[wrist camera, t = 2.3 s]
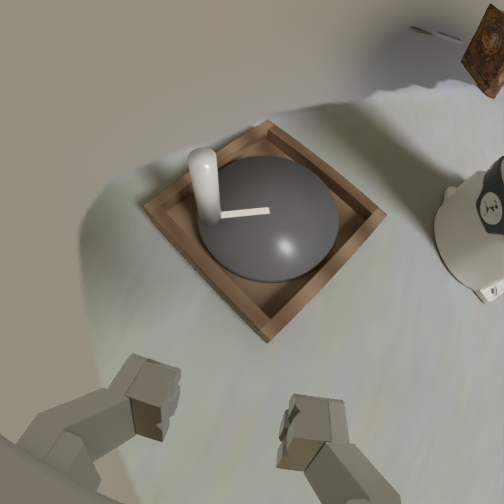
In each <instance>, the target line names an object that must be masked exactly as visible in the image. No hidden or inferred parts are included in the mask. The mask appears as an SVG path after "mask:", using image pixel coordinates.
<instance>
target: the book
mask: <svg viewBox="0 0 504 504" xmlns="http://www.w3.org/2000/svg"><path fill="white" fill-rule="evenodd" d="M461 62H462V64H463V65H464V67H465V68H466V69H467V71H468V72H469V73H470V75H471V76H472V78H473V79H474V80H475V82H476V83H477V85H478V86H479V88H480V89H481V90H482V92H483V93H484V94H485V95H487V96H488V97H490V98H493V99H494V98H495V97H496V95H497V94H498V92H499V91H500V89H501V88H502V86H503V85H504V12H503V11H500V10H499V9H497V8H496V7H495V6H494V5H492V4H489V6H488V8H487V10H486V12H485V15H484V16H483V19H482V21H481V23H480V25H479V27H478V29H477V31H476V33H475V35H474V37H473V38H472V40H471V42H470V44H469V46H468V48H467V50H466V52H465V54H464V56H463V58H462V61H461Z"/></svg>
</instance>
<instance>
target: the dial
mask: <svg viewBox="0 0 504 504" xmlns="http://www.w3.org/2000/svg"><path fill="white" fill-rule="evenodd" d="M188 165H189V170H190V175H191V180H192V185H193V190H194V194H195V199H196V204H197V222H198V228H199V232H200V235H201V238H202V241H203V243H204V245H205V247H206V249H207V250H208V252H209V253H210V255H211V256H212V257H213V258H214V259H215V261H216V262H217V263H219V264H220V265H221V266H222V267H223V268H225V269H226V270H228V271H229V272H231V273H232V274H234V275H236V276H239V277H241V278H244V279H247V280H250V281H254V282H259V283H281V282H287V281H291V280H294V279H297V278H299V277H301V276H304V275H306V274H307V273H309V272H310V271H312V270H313V269H315V268H316V267H317V266H318V265H319V264H320V263H321V262H322V261H323V260H324V258H325V257H326V256H327V254H328V253H329V251H330V250H331V248H332V246H333V244H334V242H335V239H336V237H337V232H338V225H339V218H338V210H337V206H336V203H335V200H334V197H333V196H332V194H331V192H330V190H329V189H328V187H327V186H326V184H325V183H324V182H323V181H322V180H321V179H320V178H319V177H318V176H317V175H316V174H315V173H314V172H312V171H311V170H309V169H308V168H307V167H305V166H303V165H301V164H299V163H297V162H294V161H292V160H289V159H285V158H281V157H276V156H253V157H247V158H243V159H240V160H237V161H234V162H232V163H230V164H228V165H227V166H225V167H223V168H222V169H220V170H219V171H218V170H217V157H216V153H215V152H214V151H213V150H212V149H209V148H204V147H203V148H197V149H195V150H193V151H192V152H191V153H190V154H189V156H188Z"/></svg>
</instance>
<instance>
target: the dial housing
mask: <svg viewBox="0 0 504 504" xmlns="http://www.w3.org/2000/svg"><path fill="white" fill-rule="evenodd" d="M253 156H276V157H281V158H285V159H289V160H292V161H294V162H297V163H299V164H301V165H303V166H305V167H307V168H308V169H309V170H311V171H312V172H314V173H315V174H316V175H317V176H318V177H319V178H320V179H321V180H322V181H323V182H324V183H325V184H326V186H327V187H328V189H329V190H330V192H331V194H332V196H333V197H334V200H335V203H336V206H337V210H338V218H339V225H338V232H337V237H336V239H335V242H334V244H333V246H332V248H331V250H330V251H329V253H328V254H327V256H326V257H325V258H324V260H323V261H322V262H321V263H320V264H319V265H318V266H317V267H316V268H315V269H313V270H312V271H310V272H309V273H307V274H306V275H304V276H301V277H299V278H297V279H294V280H291V281H287V282H281V283H259V282H254V281H250V280H247V279H244V278H241V277H239V276H236V275H234V274H232V273H231V272H229V271H228V270H226V269H225V268H223V267H222V266H221V265H220V264H219V263H217V262H216V261H215V259H214V258H213V257H212V256H211V255H210V253H209V252H208V250H207V249H206V247H205V245H204V243H203V241H202V238H201V235H200V232H199V228H198V222H197V204H196V199H195V194H194V190H193V185H192V180H191V175H190V171H189V172H188V173H186V174H185V175H184V176H182V177H181V178H180V179H178V180H177V181H176V182H174V183H173V184H171V185H170V186H169V187H167V188H166V189H165V190H163V191H162V192H161V193H159V194H158V195H157V196H156V197H154V198H153V199H152V200H150V201H149V202H148V203H147V204H145V205H144V207H145V209H146V211H147V213H148V215H149V217H150V219H151V221H152V222H153V223H154V224H155V225H156V227H157V228H158V229H159V230H160V231H161V232H162V233H163V234H164V236H165V237H166V238H167V239H168V240H169V241H170V242H171V243H172V244H173V246H174V247H175V248H176V249H177V250H178V251H179V252H180V253H181V254H182V255H183V257H184V258H185V259H186V260H187V261H188V262H189V263H190V264H191V265H192V266H193V267H194V268H195V270H196V271H197V272H198V273H199V274H200V275H201V276H202V277H203V278H204V279H205V280H206V281H207V282H208V283H209V285H210V286H211V287H212V288H213V289H214V290H215V291H216V292H217V293H218V294H219V295H220V296H221V297H222V298H223V299H224V300H225V301H226V302H227V303H228V304H229V305H230V306H231V308H232V309H233V310H234V311H235V312H236V313H237V314H238V315H239V316H240V317H241V318H242V319H243V320H244V321H245V322H246V323H247V324H248V325H249V326H250V327H251V328H252V329H253V330H254V331H255V332H256V333H257V334H258V335H259V336H260V337H261V338H262V339H263V340H264V341H265V342H266V343H269V342H270V341H271V340H272V339H273V338H274V337H275V336H276V335H277V334H278V333H279V332H280V331H281V330H282V329H283V328H284V327H285V326H286V325H287V324H288V323H289V322H290V321H291V320H292V319H293V318H294V317H295V316H296V315H297V314H298V313H299V312H300V311H301V310H302V309H303V308H304V307H305V306H306V304H307V303H308V302H309V301H310V300H311V299H312V298H313V297H314V296H315V295H316V294H317V293H318V292H319V291H320V290H321V289H322V288H323V287H324V286H325V285H326V283H327V282H328V281H329V280H330V279H331V278H332V277H333V276H334V275H335V274H336V273H337V272H338V271H339V269H340V268H341V267H342V266H343V265H344V264H345V263H346V262H347V261H348V260H349V258H350V257H351V256H352V255H353V254H354V253H355V252H356V251H357V249H358V248H359V247H360V246H361V245H362V244H363V243H364V242H365V240H366V239H367V238H368V237H369V236H370V235H371V233H372V232H373V231H374V230H375V229H376V228H377V226H378V225H379V224H380V223H381V222H382V220H383V219H384V218H385V217H386V216H387V214H386V213H385V212H383V211H382V210H381V209H380V208H379V207H378V206H377V205H376V204H375V203H373V202H372V201H371V200H370V199H369V198H368V197H367V196H365V195H364V194H363V193H362V192H361V191H360V190H358V189H357V188H356V187H355V186H354V185H353V184H351V183H350V182H349V181H348V180H347V179H345V178H344V177H343V176H342V175H341V174H339V173H338V172H337V171H336V170H334V169H333V168H332V167H331V166H329V165H328V164H327V163H326V162H324V161H323V160H322V159H321V158H319V157H318V156H317V155H315V154H314V153H313V152H312V151H310V150H309V149H308V148H306V147H305V146H304V145H302V144H301V143H300V142H298V141H297V140H296V139H294V138H293V137H291V136H290V135H289V134H287V133H286V132H285V131H283V130H282V129H280V128H279V127H278V126H276V125H275V124H273V123H272V122H271V121H269V120H266V121H264V122H263V123H261V124H260V125H258V126H256V127H255V128H253V129H252V130H250V131H248V132H247V133H245V134H244V135H242V136H241V137H239V138H238V139H236V140H234V141H233V142H231V143H230V144H228V145H227V146H225V147H224V148H222V149H221V150H219V151H218V152H216V157H217V170H218V171H219V170H220V169H222V168H223V167H225V166H227V165H228V164H230V163H232V162H234V161H237V160H240V159H243V158H247V157H253Z"/></svg>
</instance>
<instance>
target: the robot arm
mask: <svg viewBox="0 0 504 504" xmlns="http://www.w3.org/2000/svg"><path fill="white" fill-rule="evenodd" d="M434 233H435V239H436V243H437V247H438V250H439V252H440V255H441V257H442V259H443V261H444V263H445V264H446V266H447V267H448V269H449V270H450V272H451V273H452V274H453V275H454V276H455V277H456V278H457V279H458V280H459V281H460V282H461V283H463V284H464V285H466V286H467V287H469V288H471V289H472V290H474V291H475V292H476V294H477V295H478V296H479V298H480V299H481V300H482V301H483V302H484V303H486V304H487V303H490V302H491V301H493V300H494V299H495V298H497V297H498V296H499V295H500V294H502V293H503V292H504V156H502V157H501V158H500V159H499V160H497V161H495V162H494V163H493V164H492V165H491V167H490V169H489V170H488V171H487V172H484V171H480V170H479V171H477V172H475V173H474V174H473V175H472V176H471V177H469V178H468V179H467V180H466V181H465V182H464V183H463V184H461V185H460V186H459V187H454V186H450V187H448V188H447V189H446V190H445V193H444V202H443V204H442V205H441V207H440V208H439V209H438V211H437V214H436V217H435V222H434ZM180 378H181V370H180V369H179V368H176V367H172V366H169V365H166V364H163V363H160V362H157V361H154V360H151V359H148V358H145V357H142V356H139V355H136V354H132V355H130V356H129V357H128V359H127V360H126V362H125V363H124V365H123V366H122V368H121V369H120V371H119V372H118V374H117V375H116V377H115V378H114V380H113V381H112V383H111V384H110V386H109V388H108V389H105V388H101V389H99V390H96V391H94V392H92V393H89V394H87V395H84V396H82V397H79V398H77V399H74V400H72V401H69V402H67V403H64V404H62V405H59V406H57V407H54V408H52V409H49V410H46V411H44V412H41V413H38V415H37V416H36V417H35V419H34V420H33V421H32V423H31V424H30V425H29V427H28V428H27V430H26V431H25V432H24V434H23V435H22V436H21V438H20V439H19V441H18V442H17V443H16V445H15V444H13V443H12V442H10V441H9V440H8V439H6V438H5V437H4V436H2V435H1V434H0V504H124V503H121V502H119V501H116V500H114V499H111V498H109V497H107V496H105V495H102V494H100V493H98V492H96V491H97V489H98V487H99V485H100V483H101V477H100V475H99V473H98V471H97V469H96V468H95V466H94V464H93V462H94V461H95V460H97V459H99V458H100V457H102V456H103V455H105V454H107V453H109V452H110V451H112V450H113V449H115V448H117V447H118V446H120V445H121V444H123V443H124V442H126V441H128V440H129V439H131V438H132V437H134V436H135V435H136V434H138V435H141V436H144V437H147V438H150V439H153V440H157V441H160V442H163V440H164V438H165V436H166V433H167V431H168V428H169V417H171V416H173V415H174V413H175V411H176V408H177V404H178V401H179V396H180V386H179V385H178V383H179V381H180ZM279 439H280V441H281V442H282V443H281V445H280V447H279V448H278V452H277V465H276V468H281V469H287V470H295V471H303V472H304V474H305V476H306V478H307V480H308V481H309V483H310V485H311V486H312V488H313V490H314V491H315V493H316V495H317V497H318V498H319V500H320V502H321V503H322V504H401V499H400V495H399V494H398V493H397V492H396V491H395V489H394V488H393V487H392V486H391V485H390V484H389V483H388V482H387V481H386V479H385V478H384V477H383V476H382V475H381V474H380V473H379V472H378V470H377V469H376V468H375V467H374V466H373V465H372V464H371V463H370V461H369V460H368V459H367V458H366V457H365V456H364V455H363V453H362V452H361V451H360V450H359V449H358V448H357V446H356V445H355V444H350V443H349V434H348V426H347V418H346V410H345V403H344V401H343V400H338V399H329V398H321V397H313V396H306V395H299V394H293V395H292V396H291V399H290V401H289V409H287V410H285V412H284V415H283V417H282V421H281V425H280V431H279Z"/></svg>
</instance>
